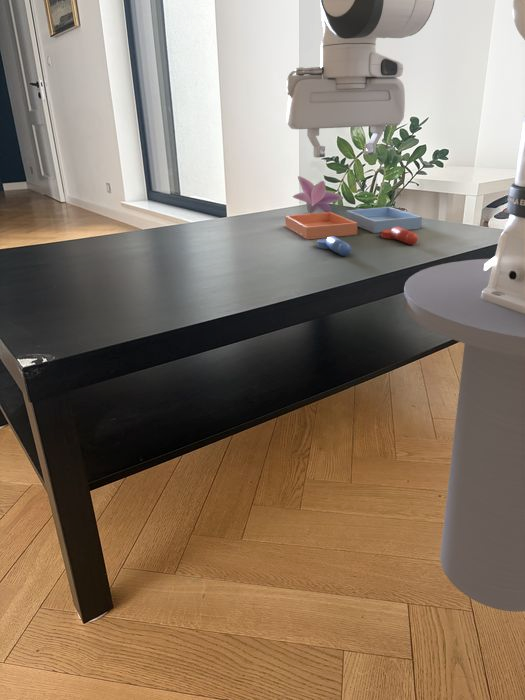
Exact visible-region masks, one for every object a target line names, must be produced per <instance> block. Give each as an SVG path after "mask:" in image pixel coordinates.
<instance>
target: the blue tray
mask: <svg viewBox="0 0 525 700" xmlns="http://www.w3.org/2000/svg"><path fill="white" fill-rule="evenodd" d="M345 218H347V219H349V220H352V221H354V222H357V227H359V228H361V229H364V230H366V231H367V232H371V233H373V234H378V233H382V230H385V229H392V228H394V227H400V228H403V229H406V230H408V231H410V230H419V229H422V225H423V217H422V216H421V215H418V214H414V213H411V212H408V211H405V210H402V209H397V208H395V207H392V206H383V207H382V206H381V207H371V208H361V209H347V210H345Z"/></svg>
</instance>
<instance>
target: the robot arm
mask: <svg viewBox="0 0 525 700" xmlns="http://www.w3.org/2000/svg"><path fill="white" fill-rule="evenodd" d="M435 1H436V0H320V17H321V23H322V30H323V31H322V38H321V42H320V65H319V66H313V67H300V66H299V67H296V68H295V70H293V71H291V72H290V73H289V74H288V76H287V78H286V92H287V95H288V101H287V109H286V110H287V111H286V124H287V125H288V127H289V128H290V129H291V130H307V132H306V134H307V135H306V136H307V138H308V140H309V142H310V143H311V146H312V147H313V157H314V158H316V159H317V158H318V159H319V158H325V157H326V153H325V152H326V146H325V145H321V144H320V141H319V140H318V138H317V137H319V136H320V129H339V128H340V129H341V128H363V127H365V128H366V127H370V133H371V134H372V135H371V136H370V139H369V141H368V142H367V143H363V148H364V149H363V154H364V155H366V156H370V155H376V154H377V144H378V143H379V141H380V140H381V137H382V135H383V134H384V127H386V126H387V127H388V126H399V125H400V124H401V123H402V121H404V118H405V109H406V94H405V92H406V91H405V86H404V83H403V81H402V80H401V79H400V78H399V77H402V76H403V73H404V64H403V63H402V62H401V61H399V60H396V59H393V58H391V57H388V56H385V55H383V54H380V53H379V52H377V51H376V49H377V39H404V38H407V37H411V36H413V35H416V34H418V33H419V32H420V31H421V30H422V29H423V28H424V27H425V26H426V24H427V22H428V21H429V19H430V17H431V15H432V12H433V9H434V7H435ZM512 17H513V22H514V26H515V28H516V31H518V33H519V35H520V36H521V37H522V39H523V40H524V41H525V0H513V1H512ZM517 154H518V155H517V162H516V168H515V169H516V170H515V175H514V176H515V178H514V182H513V183H512V184H511V185H510V188H509V194H507V207H506V212H507V213H508V214H509V215H508V220H507V223H506V225H505V227H504V229H503V231H502V233H501V234H500V236H499V238H498V241H497V247H496V250H495V254H494V256H493V257H492V258H489V259H490V260H489V261H488V262H487V263H485V264H484V270H487V269H489V268H490V267H491V266H492V265H493V267H492V271H491V275H490V280H489V283H488V286H487V287H486V288H485V289H483V291H482V294H481V299H483V300H485V301H488V302H491V303H494V304H497V305H500V306H503V307H506V308H509V309H511V310H514V311H517V312H520V313H523V314H525V116H524V118H523V121H522V125H521V133H520V140H519V147H518V153H517Z"/></svg>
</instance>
